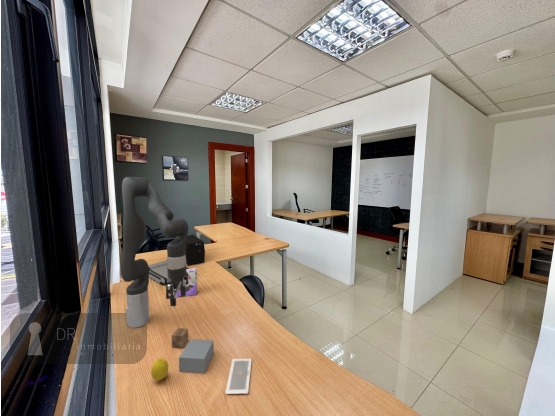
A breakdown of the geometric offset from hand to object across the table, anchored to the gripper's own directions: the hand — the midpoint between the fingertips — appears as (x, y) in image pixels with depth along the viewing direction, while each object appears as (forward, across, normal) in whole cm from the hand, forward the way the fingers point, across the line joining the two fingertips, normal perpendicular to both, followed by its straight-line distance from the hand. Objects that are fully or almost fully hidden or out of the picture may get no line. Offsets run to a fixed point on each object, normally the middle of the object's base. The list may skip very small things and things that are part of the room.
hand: (178, 300), depth 97 cm
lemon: (+21, +18, +2) cm, 28 cm away
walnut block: (+21, 0, 0) cm, 21 cm away
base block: (+21, +9, +12) cm, 26 cm away
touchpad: (+22, +14, +31) cm, 40 cm away
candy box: (+21, -43, -19) cm, 51 cm away
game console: (+21, -67, -45) cm, 84 cm away
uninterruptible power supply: (+21, -106, -45) cm, 117 cm away
